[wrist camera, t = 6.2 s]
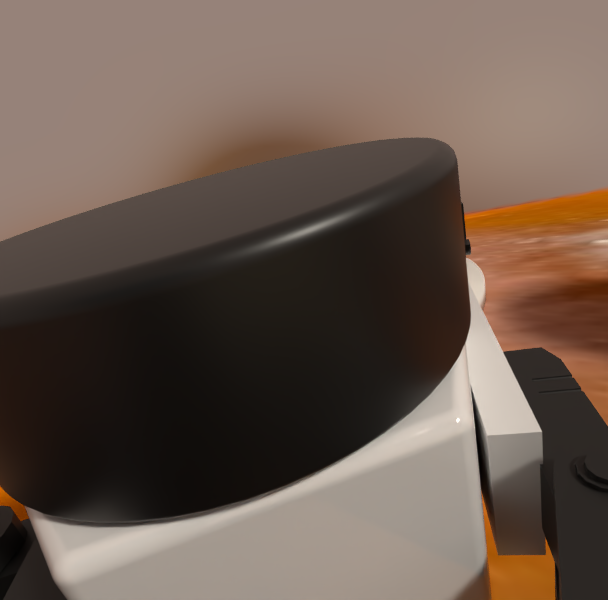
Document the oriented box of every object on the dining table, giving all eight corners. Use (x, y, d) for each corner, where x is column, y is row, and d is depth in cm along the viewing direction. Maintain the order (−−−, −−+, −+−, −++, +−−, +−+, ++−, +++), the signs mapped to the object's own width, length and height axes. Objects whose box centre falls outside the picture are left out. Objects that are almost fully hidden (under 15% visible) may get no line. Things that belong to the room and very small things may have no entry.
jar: (578, 615, 11) (594, 100, 6) (386, 1109, 6) (-211, 512, 1) (324, 464, 17) (238, 162, 12) (138, 644, 12) (-110, 269, 8)
